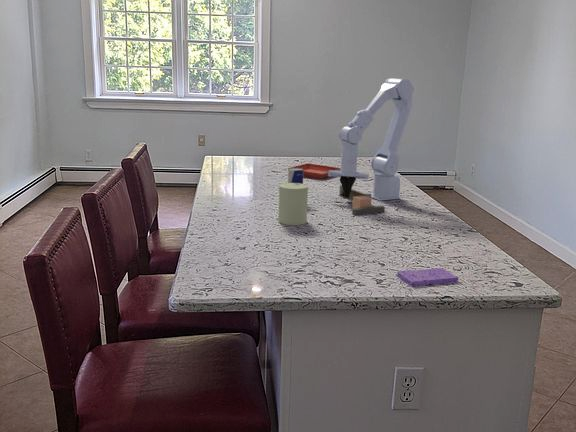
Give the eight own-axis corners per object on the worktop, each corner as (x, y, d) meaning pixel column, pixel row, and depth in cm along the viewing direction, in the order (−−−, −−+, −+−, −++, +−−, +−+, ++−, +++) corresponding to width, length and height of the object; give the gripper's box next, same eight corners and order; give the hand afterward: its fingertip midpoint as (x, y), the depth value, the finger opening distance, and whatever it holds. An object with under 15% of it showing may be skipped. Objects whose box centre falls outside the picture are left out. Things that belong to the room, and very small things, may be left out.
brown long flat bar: (346, 194, 228) (346, 187, 227) (365, 202, 217) (366, 194, 216) (343, 195, 228) (344, 187, 227) (363, 202, 216) (363, 194, 216)
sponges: (396, 278, 146) (397, 270, 145) (442, 273, 149) (442, 266, 149) (410, 288, 139) (411, 281, 139) (458, 284, 143) (459, 276, 142)
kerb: (381, 210, 208) (382, 205, 207) (384, 211, 207) (384, 206, 206) (352, 213, 203) (352, 208, 202) (354, 215, 201) (355, 209, 201)
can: (310, 219, 194) (312, 182, 191) (301, 226, 186) (303, 188, 183) (283, 216, 197) (284, 180, 194) (273, 223, 189) (274, 185, 186)
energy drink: (300, 204, 214) (302, 170, 211) (286, 203, 215) (287, 169, 212) (303, 200, 219) (304, 168, 216) (289, 199, 220) (290, 167, 217)
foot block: (363, 208, 211) (363, 195, 210) (370, 211, 207) (371, 198, 206) (352, 209, 209) (353, 196, 208) (359, 212, 205) (360, 199, 204)
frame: (345, 194, 232) (346, 184, 230) (374, 205, 215) (374, 194, 214) (337, 195, 230) (338, 184, 229) (365, 206, 214) (366, 195, 213)
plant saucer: (341, 174, 272) (342, 167, 272) (321, 181, 258) (322, 173, 257) (307, 170, 282) (307, 163, 281) (286, 175, 267) (286, 168, 266)
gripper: (326, 160, 215) (325, 197, 219) (367, 163, 211) (364, 201, 215) (331, 157, 222) (329, 193, 225) (370, 160, 218) (368, 197, 221)
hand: (347, 197), depth 220 cm, fingers closed
